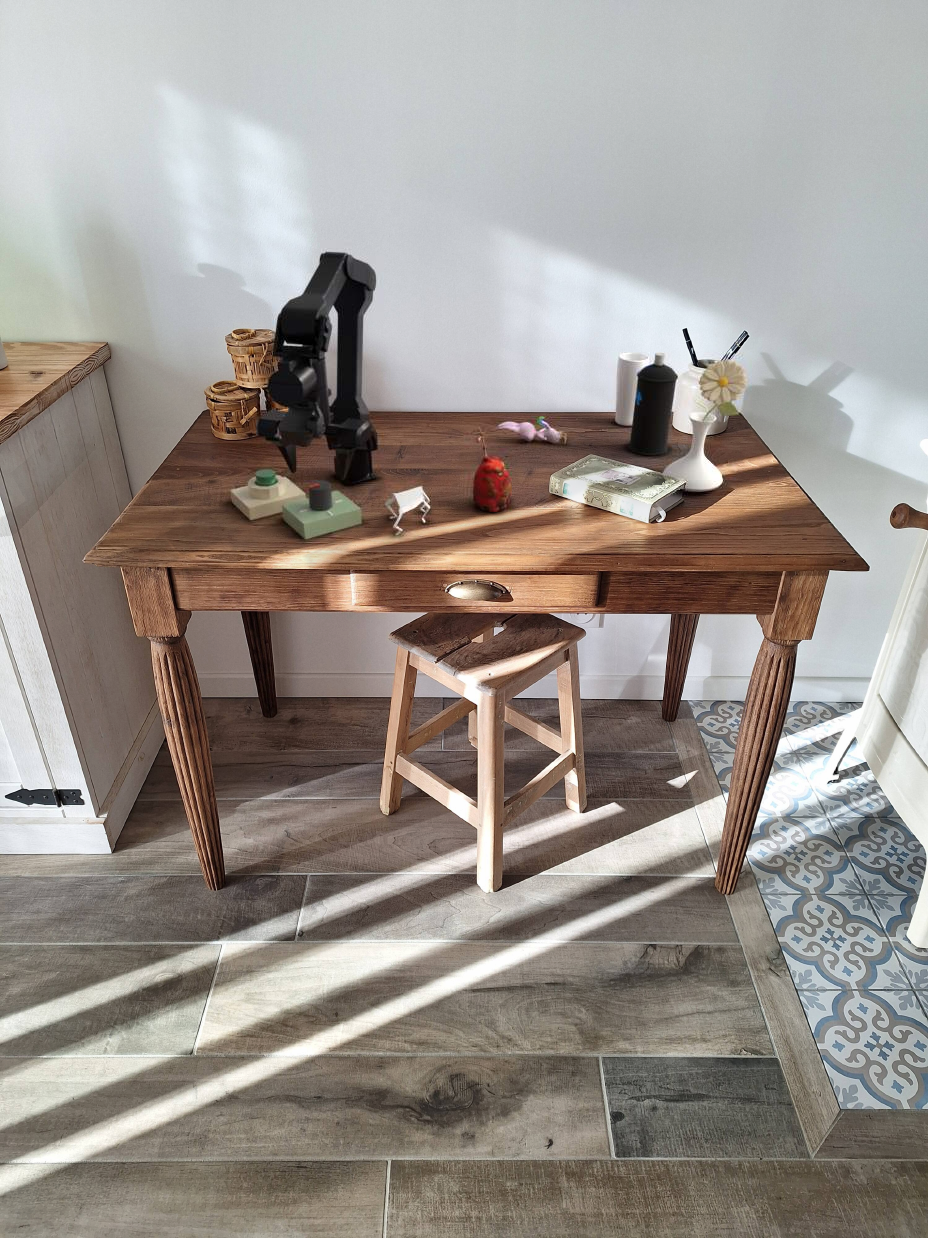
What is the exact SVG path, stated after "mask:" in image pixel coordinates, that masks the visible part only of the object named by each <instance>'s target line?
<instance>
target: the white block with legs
mask: <svg viewBox="0 0 928 1238" xmlns="http://www.w3.org/2000/svg"><path fill="white" fill-rule="evenodd" d="M430 502H431V500H430V498H429V496H427V494H426V492H425V491H424V490H423V485H420V486H417V487H414V488H411V489H408V490H404V491H401V492H397V493H394V492H392V497H391V498H389V499H388V500H386V502H384V505H385V507H386V508H387V509H388V510H389V511H390V512H391V514H392V516H389V520H393V519H396V520H395V522H394V524H393V526H392V528H394V529H395V530H398V531H397V532H395V534H394V535H395V536H399V535H400V533H402V532H403V529H402V528H401V527H399V526H398V524H399V522H400V520H401V518H402V516H403V514H405V513H406V512H409V511H411V510H414V509H415V508H416V507H419V505H420V504H421V503H423V504H422V505H421V507H420V508H419V510H420V511H421V512H423V515H422V517H421V520H422V522H423V523H426V520H425V518H424V517H426V514H427V513H428V512H429V510H430V509H431V506H430V505H429V503H430ZM394 503H396V504H397V506H398V512H399V515H397V514H396V513H395V511H394V510H393V509H392V507H391V506H390V505H392V504H394ZM425 507H427V508H426V509H423V508H425Z"/></svg>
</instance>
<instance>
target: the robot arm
mask: <svg viewBox="0 0 928 1238" xmlns="http://www.w3.org/2000/svg"><path fill="white" fill-rule="evenodd" d="M318 262H319V263H318V265H317V267H316V269H315V271H314V272H313V274H312V276H311V278H310V280H309V282H308V283H307V285H306V286H305V289H304V290H303V292H302V294H301V295H298V296H297V297H293V298H291V299H289V300H288V301H287V302H286V303H285V304H284V306H283V307H282V308H281V309H280V312H279V313H278V315H277V317H276V323H275V324H276V325H275V332H274V339H273V340H274V341H273V348H272V357H273V358H274V357H275V358H281V359H279V361H277V362H276V366H277V369H276V370H275V371H273V373H272V374H270V376H269V378H268V382H267V384H266V386H267V387H266V388H267V391H268V394H269V396H270V398H271V399H272V400H273V402H274V403H275V404H277V405H279V406H280V407H284V408H288V411H284V410H275V409H270V410H269V411H267V412H266V413H265V414H263V415H262V416H260V417H259V418H258V419H257V420H256V423H255V430H256V435H257V436H258V437H262V438H264V440H265V441H266V442H269V443H272V444H273V445H275V446H276V448H277V449H278V450H279V452H280V454H281V456H282V457H283V459H284V462H285V463H286V465H287V467H288V469H289V472H290V473H291V474H295V473H297V463H298V462H297V461H298V460H297V448H296V446H297V447H298V446H299V447H300V448H306V447H309V446H310V445H311V444H312V441H313V440H315V439H317V440H318V439H319V440H321V439H322V437H323V436H325V439H326V444H327V447H328V450H329V451H335V455H334V456H333V463H334V465H333V467H334V472H333V476H334V477H336V478H337V479H338V480H340V481H341V482H342V483H344V484H345V485H346V486H353V485H357V484H361V483H365V482H369V481H373V480H376V479H377V478H378V475H377V474H375V473H374V472H373V455H372V454H373V452H374V451H375V452H376V451H377V450H378V448H379V444H378V442H379V439H378V432H377V430H376V429H375V427H374V425H373V423H372V422H371V411H370V410H369V408H368V406H367V404H366V403H365V401H364V399H363V398H362V395H363V356H364V355H363V350H364V316H365V314H366V312H367V311H368V309H369V308H370V306H371V304H372V303H373V301H374V300H373V299H374V291H375V290H376V288H377V273H376V271H375V269H374V268H373V267H372V266H371V265H370V264H369V263H368V262H365V261H362V260H360V259H357V258H355V257H353V255H352V254H350V253H348V252H344V251H343V252H341V251H324V252H321V253H320V256H319V260H318ZM332 308H334V310H335V312H336V314H337V329H336V330H337V331H336V332H337V333H336V334H337V335H336V336H337V339H336V340H337V341H336V345H337V346H336V395H335V398H334V400H333V401H332V403H331V405H330V399H329V397H331V396H332V388H329V386H328V373H327V361H326V353H328V351H329V345H330V341H331V336H332V331H333V323H331V318H330V316H329V315H330V312H331V310H332Z"/></svg>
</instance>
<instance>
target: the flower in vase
mask: <svg viewBox="0 0 928 1238" xmlns="http://www.w3.org/2000/svg"><path fill="white" fill-rule="evenodd" d="M745 372H746V370H745V368H743V366H742V365H739V364H738V363H737V362H736V361H732V360H730V359H728V358H727V359H725V360H718V361H717V362H714V363H709V364H708V366H707V367H706V368H705V369H704V370H703V373H702V374H701V376H699V381H698V385H700V386H699V390H700V391H701V393H700V395H701V397H703V398H704V399H706V400H707V401H708V402H712V403H713V404H714V405H713V406H712V407H711V409H708V407H707V406H706V405H704V404H703V403H701V402H700V401H697V400H696V399H695V398H694V397H693V396H691V398H692V399H693V401H694V402H695V403H696V404H697V405H699V406H701V407H702V408H704V409H706V410H707V411H708V412H705V411H703V412H702V411H697V412H691V413H689V414H688V418H689V420H690V422H691V425H692V439H691V440H692V441H691V445H690V449H689V451H688V453H687V454H686V455H684V456H682V457H681V458H678V459H677V460H675V461H673V462H672V463H669V464H668V465H667V466H666V467H665V468H664V470H663V472H662V474H666V475H669V476H673V477H678V478H681V479H684V480H685V481H686V485H685V490H684V491H685V492H690V493H691V492H692V493H702V492H703V493H704V492H710V491H713V490H716V489H717V488H719V487H720V486H721V485H722V483H723V482H724V480H723V476H722V473H721V471H720V470H719V469H718V468H717V467H716V465H714V464H713V463H712V462H711V461H710V460H709V459H708V458H707V457H706V455H705V452H704V449H705V448H704V447H705V441H706V437H707V433H708V431H709V429H710V427H711V426H712V424H713V423H714V422H716V420H717V416H716V415H714V414H712V413H711V412H713V411H714V410H715V409H716V407H717V409H718V411H719V413H720V414H721V415H722V416H724V417H728V416H737V415H740V412H739V410H738V409H737V407H736V406H735V404H734V403H733V401H737V400H738V398H740V395H741V394H742V393H743V392H744V390H745V388H746V387H747V385H748V380H747V379H746V378H747V375H746V374H745Z"/></svg>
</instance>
